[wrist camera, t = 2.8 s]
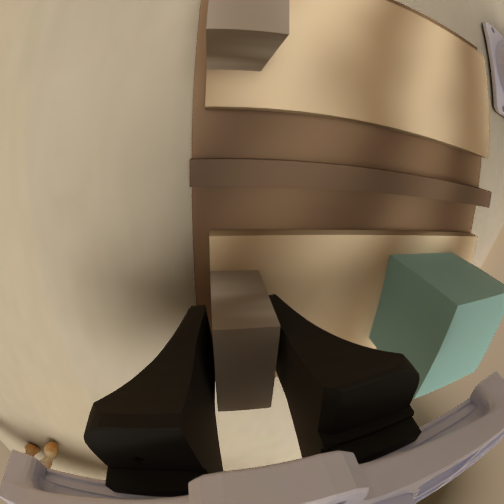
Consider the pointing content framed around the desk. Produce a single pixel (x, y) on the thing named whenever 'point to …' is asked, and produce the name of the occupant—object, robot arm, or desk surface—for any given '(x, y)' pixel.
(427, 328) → the teal cube
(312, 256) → the strip
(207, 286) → the lane board
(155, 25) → the desk surface
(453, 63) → the empty strip
